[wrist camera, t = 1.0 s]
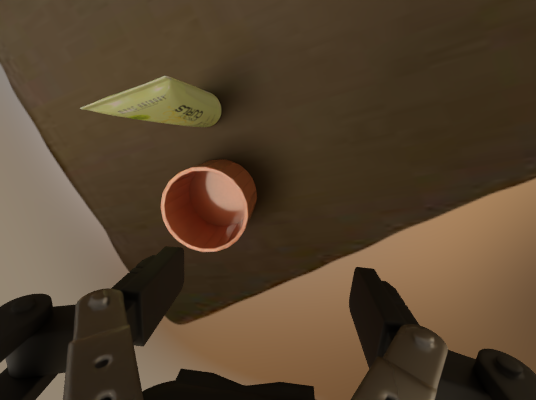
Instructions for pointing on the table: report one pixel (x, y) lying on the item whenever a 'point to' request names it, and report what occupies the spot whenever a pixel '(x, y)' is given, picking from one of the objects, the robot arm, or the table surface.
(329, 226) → the table surface
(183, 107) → the tube
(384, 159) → the table surface
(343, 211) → the table surface
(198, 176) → the pen cup
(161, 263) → the robot arm
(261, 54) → the table surface
